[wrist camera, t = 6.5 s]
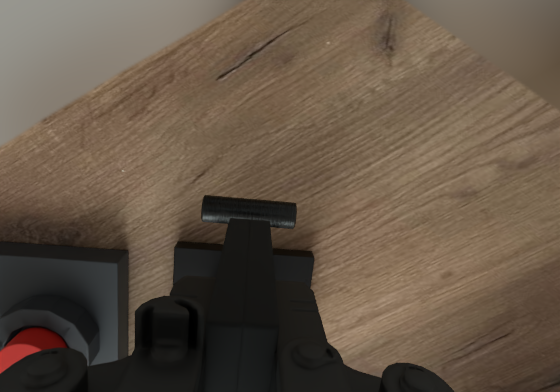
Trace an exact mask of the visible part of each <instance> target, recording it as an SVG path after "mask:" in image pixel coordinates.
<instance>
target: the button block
mask: <svg viewBox="0 0 560 392" xmlns="http://www.w3.org/2000/svg"><path fill="white" fill-rule="evenodd" d="M33 327H40V328H46V329H49V330H51V331H53V332H55V333H57V334H58V335H59V336H60V337H61V338H62V339H63V340H64V342H65V343H66V345H67V348H73V349H75V350H77V351H80V352H82V353H83V354H84V356H85V357H86V359H87V364H88V366H91V365H96V364H102V363H108V362H112V361H116V360H120V359H123V358H126V357H128V251H126V250H112V249H98V248H84V247H70V246H56V245H42V244H28V243H14V242H0V351H1V350H2V349H3V348H4V347H5V346H6V345H7V344H8V343H9V342H10V341H11V340H12V339H13V338H14V337H15V336H16V335H17V334H18V333H20V332H21V331H23V330H25V329H28V328H33Z"/></svg>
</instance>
